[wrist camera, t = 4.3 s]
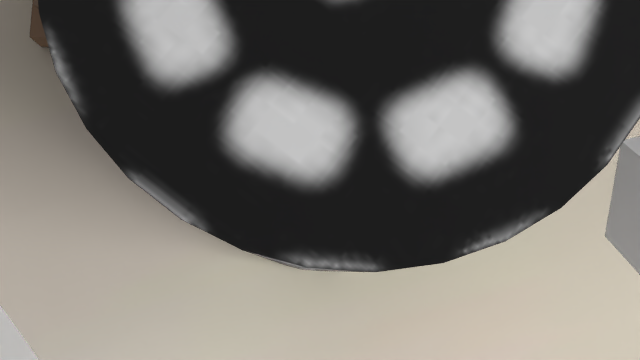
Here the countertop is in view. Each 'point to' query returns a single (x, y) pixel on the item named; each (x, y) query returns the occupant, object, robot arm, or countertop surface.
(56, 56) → the white-spotted black cylinder
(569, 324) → the countertop surface
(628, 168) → the robot arm
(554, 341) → the countertop surface
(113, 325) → the countertop surface
